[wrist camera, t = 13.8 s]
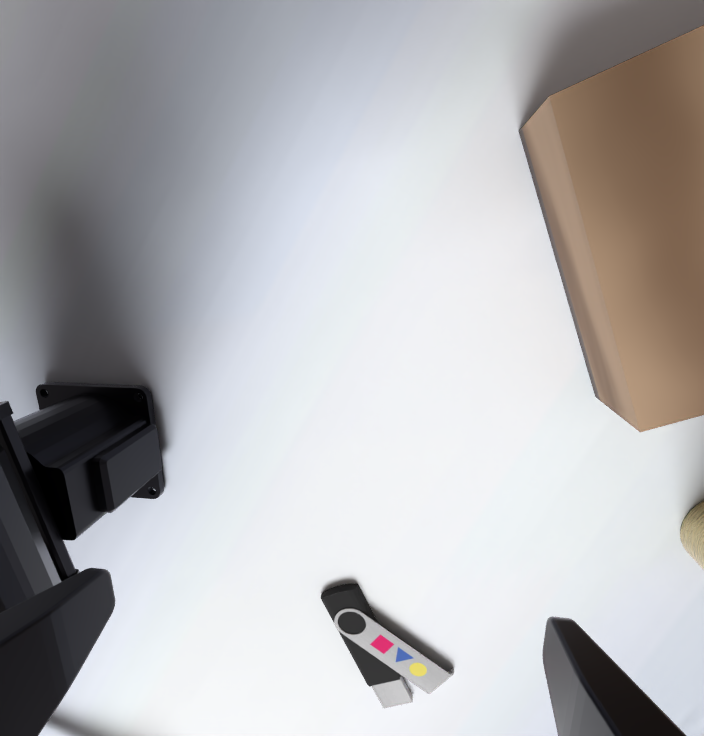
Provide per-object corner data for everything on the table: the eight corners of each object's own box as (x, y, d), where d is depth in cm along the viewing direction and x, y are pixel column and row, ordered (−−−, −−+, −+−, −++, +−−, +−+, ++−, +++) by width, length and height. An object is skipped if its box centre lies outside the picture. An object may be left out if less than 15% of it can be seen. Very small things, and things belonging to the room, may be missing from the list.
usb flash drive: (321, 586, 25) (317, 599, 24) (403, 562, 24) (403, 575, 23) (380, 695, 26) (379, 712, 26) (461, 678, 25) (463, 695, 24)
